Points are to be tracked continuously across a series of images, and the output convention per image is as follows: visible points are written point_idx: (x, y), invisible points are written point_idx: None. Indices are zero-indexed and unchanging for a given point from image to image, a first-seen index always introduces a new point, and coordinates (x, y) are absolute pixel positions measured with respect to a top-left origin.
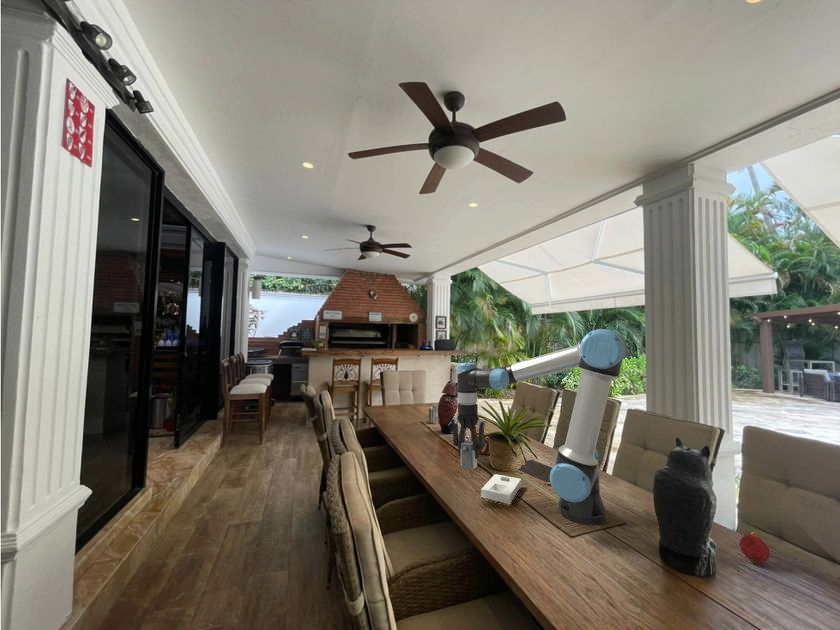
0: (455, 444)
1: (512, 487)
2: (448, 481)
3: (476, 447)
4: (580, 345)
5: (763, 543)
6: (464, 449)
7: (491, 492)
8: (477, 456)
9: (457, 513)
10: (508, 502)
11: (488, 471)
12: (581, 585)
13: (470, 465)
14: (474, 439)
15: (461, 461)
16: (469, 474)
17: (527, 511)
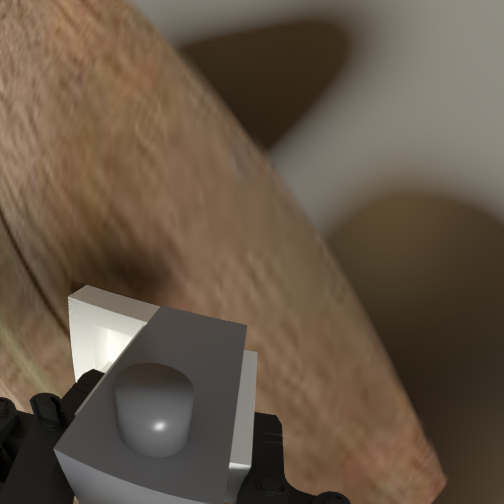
0: (324, 502)
1: (80, 365)
2: (337, 416)
3: (35, 426)
4: None
5: None
6: (150, 394)
7: (132, 316)
8: (82, 380)
9: (258, 157)
10: (86, 288)
11: None
12: (7, 17)
13: (160, 322)
14: (10, 500)
15: (243, 353)
16: None
17: (42, 257)
